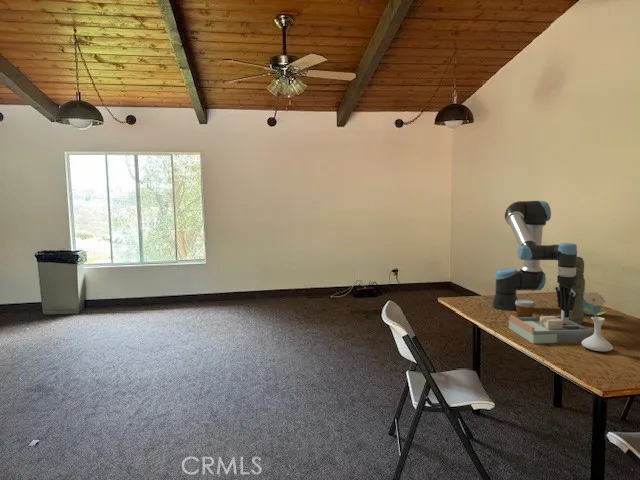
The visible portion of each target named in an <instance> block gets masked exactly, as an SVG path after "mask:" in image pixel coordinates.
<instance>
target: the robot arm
mask: <svg viewBox="0 0 640 480" xmlns="http://www.w3.org/2000/svg"><path fill="white" fill-rule="evenodd" d="M551 217H552V211H551V206H550V204H549V202H547V201H545V200H525V201H523V200H522V201H521V200H518V201H514V202H512V203H511V204H510V205H509V206H508V207H507V208H506V210H505V213H504V220H505V222H506V223H507V225H508V226H510V228H511V230H512V233H513V235H514V237H515V239H516V241H517V244H518V247H517V257H518V259H519V260H522V261H523V265H521V266H520V270H518V269H517V268H509V267H507V268H501V269H498V270H497V271H496V272H495V293H494V296H493V299H492V302H491V306H492V307H493V308H495V309H498V310H506V311H514V310H516V304H515V302H516V300H518V296H517V291H531V292H535V291H541V290H543V288H544V287H545V284H546V279H547V277H546V273H545V271H543V268H541V261H557V274H558V275H557V276H556V277H557V279H556V282H557V284H558V286H556V287H555V288H554V289H555V292H556V293H555V294H556V300H557V307H558V308H559V309H560V316H561V320H563V324H568V320H569V311H571V310H573V307H574V302H575V298H576V296H577V292H574V288H573V285H574V284H575V283H576V277H575V275H576V260H577V257H578V246H577V244H576V243H571V242H561V243H559V244H556V243H555V244H551V245H550V244H548V245H544V244H543V245H542V241H543V228H544V227H545V226H546V225H547V222H549V221H550V220H551ZM516 311H517V310H516Z"/></svg>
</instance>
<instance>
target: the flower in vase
mask: <svg viewBox="0 0 640 480" xmlns="http://www.w3.org/2000/svg"><path fill="white" fill-rule="evenodd" d="M585 292H586V293H585V295H584V296H583V298H584V300H586V302H587V303H589V304H592V307H593V305H594V306H600V305H601V306H604V304H605V303H606V301H605V298H604V296H602V294H599V293H598V292H595V291H585ZM594 292H595V293H594ZM591 309H592V308H591ZM583 311H585V312H587V313H591V312H593V310H590V309H588V308H585V309H584V310H583ZM605 313H606V311H601V312H600V313H598V314H596V315H595V313H594V312H593V314H594V315H593V316H592V317H591V316H590V318H591V319H592V322H593V324H594V325H593V326H594V327H593V328H594V329H595V330H594V334H593V335H592V336H590V337H588V338H586V339H584V340H583V341H582V342H580V343H581V345H582V347H583V348H586V349H588V350H591V351H596V352H610V351H612V350H613V349H614V346H613V345H612V343H610V342H609V341H608V340H607V339H606V338H605V337H603V335H602V331H601V329H602V325H603V323H604V322H605V320H606V318H604V317H601V315H604V314H605Z"/></svg>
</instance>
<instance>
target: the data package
mask: <svg viewBox="0 0 640 480" xmlns="http://www.w3.org/2000/svg"><path fill="white" fill-rule="evenodd" d="M586 292H587V291H584V292H583V296H584V295H585V293H586ZM593 292H594V293H596V292H595V291H593ZM585 308H588V309H590V310H593V312H594V313H595V315H596V314H598V313H600V312H602V311H601V310H602V309H601V308H602V305H600V306H594V305H593V307H592V304H589V303H587V302H586V300H584V298H583V310H584V309H585ZM591 308H592V309H591ZM593 312H591V313H587V312H585V311H584V315H591V316H592V315H593V316H595V315H594V314H593ZM596 316H597V315H596Z"/></svg>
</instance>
